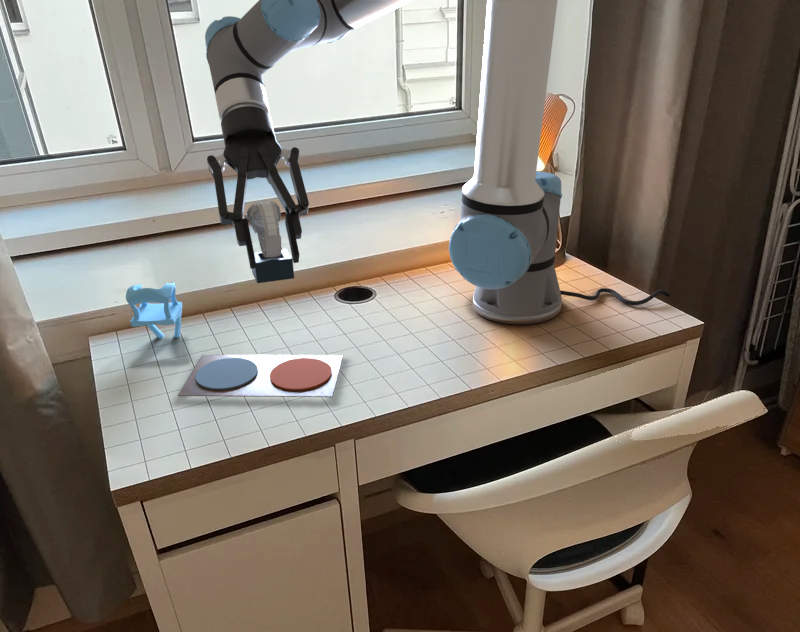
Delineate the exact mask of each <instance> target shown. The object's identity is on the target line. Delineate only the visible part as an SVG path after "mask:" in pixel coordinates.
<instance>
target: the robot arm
mask: <svg viewBox="0 0 800 632" xmlns="http://www.w3.org/2000/svg"><path fill="white" fill-rule="evenodd" d="M412 1H414V0H258V1H257V2H255V4H254V5H253V6H251V8H249V10H248V11H247V12H246V13H245V14H244V15H243V16H242V17H241V18H240V17H238V16H231V15H229V16H227V15H226V16H223V17H221V19H214V20H213V21H212V22H211V23H209V25H208V27H207V28H206V30H205V34H204V41H205V42H204V43H205V50H206V53H205V56H206V61H207V64H208V66H209V67H208V68H209V71H210V76H211V81H212V86H213V91H214V98H215V102H216V107H217V112H218V117H219V121H220V128H221V132H222V137H223V138H222V139H223V142H224V149H223V153H222V154H220V155H217V156H215V155H212V154H210V155H208V156H207V158H206V161H207V162H206V163H207V169H208V171H209V173H210V175H211V176H212V178H213V180H214V188H215V193H216V195H215V196H216V201H217V208H218V215H219V216H218V217H219V223H220V224H221V225H223V226H225V225H231V226H232V227H233V228H234V232H235V238H236V243H237V245H238V246H239V247H246V253H247V256H248V263H249V268H250V270H252V269H254V268H256V260H255V255H254V253H255V250H254V246H253V241H252V236H251V230H250V225H249V220H247V218H246V219H245V218H244V212H245V203H246V195H247V187H248V180H253V179H257V178H259V179H266V181H267V183H268V184H269V185H270V187H271V188H272V190H273V192H274V194H275V195H276V198H277V199H278V201H279V202H280V204H281V206H282V208H283V210H284V212H285V215H284V224H285V225H284V226H285V229H286V233H287V239H288V244H289V249H290V253H291V257H292V258H293V264H297V263H300V250H299V246H298V241H297V240H300V239H302V234H303V229H302V225H301V220H300V217H302V216H307V215H308V214H309V209H310V208H309V207H310V201H309V197H308V194H307V190H306V186H305V183H304V178H303V175H302V171H301V168H300V163H299V161H300V160H299V159H300V149H299V148H298V147H295V146H294V147H292V148H291V149H286V148H282V147H281V145H280V143H278V141H277V139H276V134H275V129H274V125H273V120H272V116H271V110H270V106H269V102H268V97H267V92H266V87H265V82H264V77H263V76H264V74H265V73H266V72H268V71H269V70H270V69H272V68H273V67H274V66H275V65H276V64H277V63H278V62H279V61H280V60H282V59H283V58H284V57H285V56H286V55H287V54H289V53H290V52H292V51H296V50H300V49H304V48H309V47H313V46H317V45H322V44H331V43H334V42H337V41H339V40H341V39H343V38H345V37H346V36H347V35H348V34H349V33H350V32H352V31H354V30H356V29H358V28H360V27H362V26H364V25H366V24H367V23H370V22H371V21H374V20H376V19H378V18H380V17H382V16H384V15H386V14H389V13H390V12H392V11H394V10H396V9H398V8H401V7H402V6H405V5H407V4H408V3H410V2H412ZM557 7H558V0H487V1H486V13H485V14H486V15H485V27H484V28H485V29H484V39H483V42H484V44H483V52H482V53H483V55H482V66H481V67H482V68H481V79H480V93H479V105H478V106H479V107H478V118H477V119H478V120H477V133H476V145H475V157H474V158H475V159H474V172H473V176H472V178H470V179H469V180H468V181H467V182H466V183H465V184H464V185H463V186H462V191H461V203H460V204H461V205H460V218H459V222H457V224H456V225H455V226H454V228H453V231H452V232H451V235H450V239H449V242H448V253H449V258H450V261H451V264H452V265H453V267H454V269H455V270H456V272H458V273H459V274H460V276H461V277H462V278H463V279H464V280H465V281H466V282H468V283H470V284H471V285H473V286H475V288H474V291H473V295H472V308H473V310H474V311H475V312H476V313H477V314H478V315H479V316H481V317H483V318H485V319H487V320H490V321H493V322H496V323H500V324H506V325H522V326H523V325H535V324H539V323H544V322H547V321H549V320H551V319H553V318H555V317H556V316H558V315H559V313H560V312H561V310H562V302H563V301H562V300H563V299H562V296H568V297H574V298H579V299H583V300H586V301H587V300H588V301H596V300H597V299H599V297H600V295H601V293H608V294H611V295H613V296H614V297H615V298H616V299H617V300H618V301H620V302H621V303H623V304H625V305H629V306H640V305H644V304H647V303H648V302H650V301H651V300H653V299H654V298H655V297H657V296H658V295H664V296H665V297H671V296H672V295H671V294H670V292H668V290H665V289H657V290H656V291H654V292H653V293H651V294H650V295H649V296H647V297H645V298H643V299H640V300H629V299H627V298H624V297H623V296H622V295H621V294H620V293H618V292H617V290H614V289H612V288H609V287H601V288H598V289H597V290H596V292H595V295H586V294H583V293H579V292H573V291H567V290H561V288H560V284H559V279H558V276H557V271H556V268H555V262H556V261H555V260H556V249H557V241H558V240H557V239H558V231H559V219H560V209H561V199H562V197H563V193H562V180H561V178H560V177H559V176H558V175H556V174H554V173H551V172H546V171H538V170H537V169H538V160H539V152H540V143H541V137H542V128H543V119H544V111H545V103H546V96H547V90H548V89H547V87H548V79H549V71H550V63H551V57H552V48H553V40H554V33H555V32H554V31H555V24H556V15H557ZM280 159H282V160H283V161H284V164H285V165H286V166H287V167H288V169H289V174H290V175H289V177H290V179H291V183H292V188H293V191H294V194H295V198H296V201H297V204H296V202H295V201H294V199H293V197H292V195H291V194H290V191H289V189H288V188H287V186H286V184H285V183H284V181H283V179H282V177H281V175H280V173H279V171H278V168H277V165H278V163H279V161H280ZM225 165H228V166H229V167H230V168H231V169H232V170H233V171H235V172H236V173H237V179H236V185H235V186H236V187H235V195H234V202H233V210H232V211H229V210H228V205H227V204H228V203H227V198H226V190H225V184H224V176H223V172H225Z"/></svg>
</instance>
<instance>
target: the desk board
mask: <svg viewBox="0 0 800 632" xmlns="http://www.w3.org/2000/svg"><path fill="white" fill-rule="evenodd" d="M225 358H243V359H247V360H250V361H252V362H254V363H255V364H256V365H257V368H258V373H257V375H256V377H255V378H254V379H253V380H252V381H250V382H249V383H247V384H245V385H243V386H240V387H237V388H233V389H228V390H211V389H207V388H204V387H202V386H200V385H199V384H198V383H197V382H196V377H195V376H196V373H197V371H198V370H199V369H200V368H201V367H203V366H204V365H206V364H208V363H210V362H213V361H216V360H219V359H225ZM297 358H314V359H319V360H322V361H324V362H326V363H327V364H328V365H329V366H330V367H331V370H332V374H331V377H330V378H329V380H328V381H326V382H325V383H324V384H322V385H320V386H318V387H315V388H312V389H307V390H298V391H294V390H285V389H281V388H279V387H277V386H275V385H274V384H273V383H272V382H271V380H270V373H271V371H272V370H273V368H275V367H276V366H277V365H279V364H281V363H283V362H285V361H288V360H292V359H297ZM343 358H344V355H343V354H201V356H200V358H199V359H198V362H197V363H196V364H195V366H194V368H193V369H192V371H191V373H190V375H189V376H188V378H187V380H186V381H185V383H184V384H183V386H182V388H181V389H180V391H179V393H178V394H177V396H178V397H289V398H290V397H292V398H293V397H300V398H302V397H304V398H305V397H307V398H311V397H313V398H319V397H320V398H332V397H334V394H335V390H336V385H337V383H338V377H339V373H340V370H341V366H342V361H343Z"/></svg>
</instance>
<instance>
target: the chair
mask: <svg viewBox="0 0 800 632" xmlns="http://www.w3.org/2000/svg"><path fill="white" fill-rule="evenodd" d="M176 289H177V288H176V283H175V282H173V281H172V282H170V283H169V282H166V283H164V284H163V286H162V287H161V288H152V287H144V288H143V285H142V283H138V284H133V285H131V286H129V287H128V288H127V289H126V293H125V300H126V302H127V304H128V305H129V307H130V308H131V309H132V312H133V316H132V318H131V319H130V322H129V323H130V327H133V328H134V327H144V326H147V327H148V329H149V330H150V331H151V332H152V333H153V334H154V335H155V336H156V338H157V339H159V340H161V339H163V338H164V337H165V335H164V333H163V332H162V331H161V330H160V329H159V328H158V326H160V325H161V326H171V325H173V326H174V335H173V338H175V339H179V338H180V337H181V329H182V328H181V327H182V312H183V307H184V306H183V302H182V301H178V300H177V297H176V291H177V290H176ZM151 302H152V303H151ZM138 304H139V305H138ZM136 305H138V307H137V306H136ZM156 325H157V326H156Z"/></svg>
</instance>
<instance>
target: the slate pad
mask: <svg viewBox="0 0 800 632" xmlns="http://www.w3.org/2000/svg"><path fill="white" fill-rule="evenodd" d="M257 373H258V368H257V365H256V364H255V363H254V362H252V361H250V360H247V359H243V358H225V359H219V360H216V361H213V362H210V363H208V364H206V365H204V366H203V367H201V368H200V369H199V370H198V371H197V373H196V376H195V377H196V382H197V383H198V384H199V385H200V386H202V387H204V388H207V389H211V390H228V389H233V388H237V387H240V386H243V385H245V384H247V383H249V382H250V381H252V380H253V379H254V378H255V377H256V375H257Z"/></svg>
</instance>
